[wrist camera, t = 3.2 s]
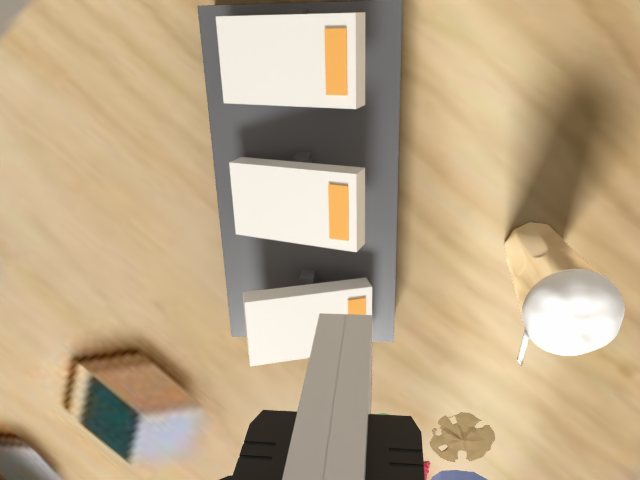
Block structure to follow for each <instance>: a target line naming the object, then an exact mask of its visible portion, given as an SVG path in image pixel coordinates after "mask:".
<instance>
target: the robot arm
mask: <svg viewBox="0 0 640 480" xmlns="http://www.w3.org/2000/svg"><path fill="white" fill-rule="evenodd" d="M372 316H373V315H357V314H325V313H319V318H318V322H317V327H316V331H315V336H314V340H313V345H312V349H311V353H310V358H309V362H308V367H307V371H306V376H305V380H304V385H303V389H302V393H301V398H300V402H299V407H298V411H297V412H292V411H273V410H263V411H262V412H261V413H260V414H259V415H258V416H257V417H256V418H255V419H254V420H253V421H252V422H251V423H250V425H249V428H248V431H247V434H246V437H245V440H244V444H243V446H242V449H241V452H240V457H239V458H238V461H237V464H236V467H235V470H234V473H233V476H227V477H225V478H222V479H220V480H425V476H424V463H423V452H422V451H423V450H422V437H421V431H420V430H419V428H418V426H417V425H416V423H415V422H414V420H413V419H412V417H411V416H397V415H377V414H371V404H372Z"/></svg>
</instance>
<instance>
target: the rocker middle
mask: <svg viewBox="0 0 640 480" xmlns="http://www.w3.org/2000/svg"><path fill="white" fill-rule="evenodd" d="M229 167H230V177H231V188H232V199H233V210H234V221H235V231H236V234H237V235H244V236H250V237H257V238H264V239H270V240H277V241H284V242H290V243H297V244H304V245H311V246H317V247H324V248H331V249H337V250H344V251H351V252H358V250H359V249H360V248H361V247H362V246H363V245H364V244H365V168H363V167H352V166H340V165H329V164H317V163H306V162H294V161H283V160H271V159H259V158H248V157H240V158H238V159H236V160H233V161H231V162H229Z"/></svg>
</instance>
